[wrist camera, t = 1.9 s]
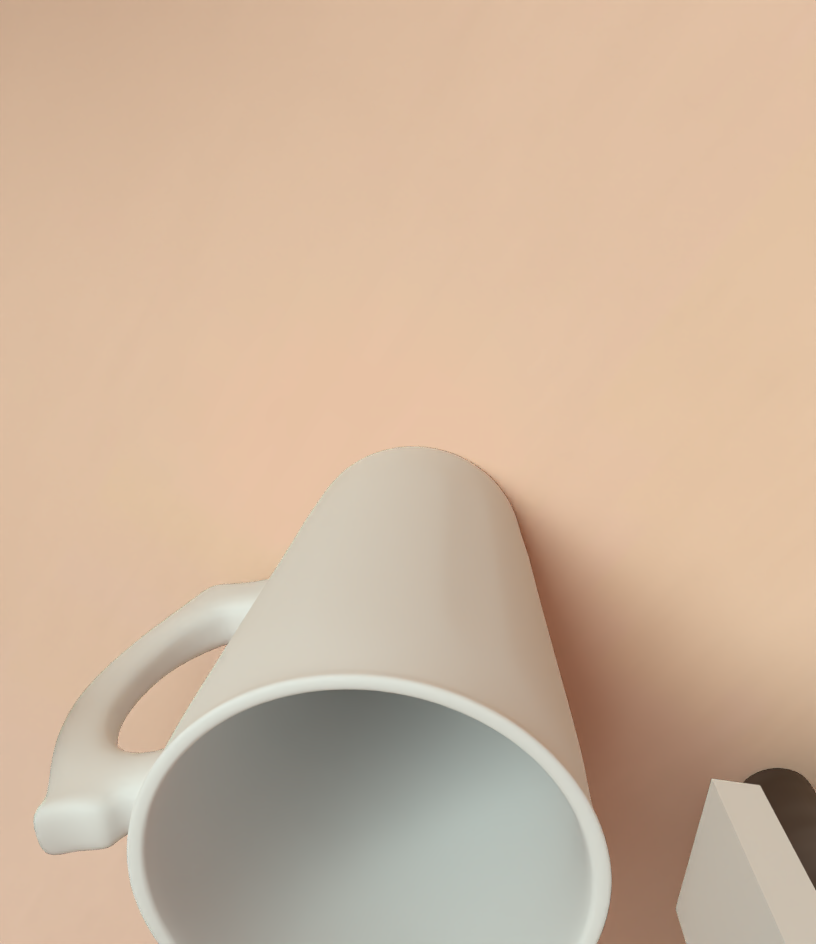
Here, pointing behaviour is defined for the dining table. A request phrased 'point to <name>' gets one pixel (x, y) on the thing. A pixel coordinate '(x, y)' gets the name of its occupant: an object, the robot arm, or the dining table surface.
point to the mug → (352, 739)
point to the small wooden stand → (792, 811)
